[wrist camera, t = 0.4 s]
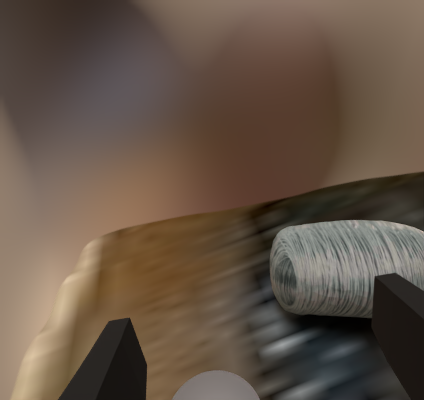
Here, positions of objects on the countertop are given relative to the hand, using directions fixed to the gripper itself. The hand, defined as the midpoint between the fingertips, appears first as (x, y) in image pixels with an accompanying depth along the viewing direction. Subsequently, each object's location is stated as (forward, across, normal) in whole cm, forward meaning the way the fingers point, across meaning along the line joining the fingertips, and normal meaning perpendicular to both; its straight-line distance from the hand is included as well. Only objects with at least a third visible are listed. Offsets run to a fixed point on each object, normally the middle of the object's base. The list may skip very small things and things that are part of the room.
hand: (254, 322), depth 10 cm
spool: (+17, -10, +17) cm, 26 cm away
